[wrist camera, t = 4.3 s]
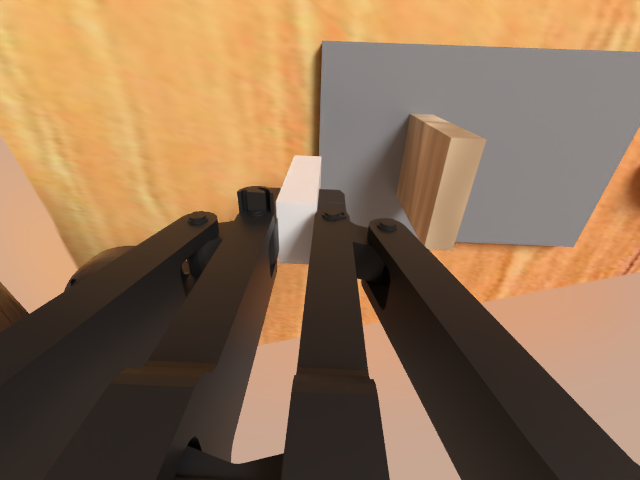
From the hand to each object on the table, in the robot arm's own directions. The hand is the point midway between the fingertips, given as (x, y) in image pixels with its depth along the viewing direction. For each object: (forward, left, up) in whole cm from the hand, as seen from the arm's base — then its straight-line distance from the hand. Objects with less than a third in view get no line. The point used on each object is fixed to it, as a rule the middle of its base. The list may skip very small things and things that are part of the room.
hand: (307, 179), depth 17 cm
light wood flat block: (+7, 0, -6) cm, 9 cm away
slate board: (+11, 0, -7) cm, 13 cm away
